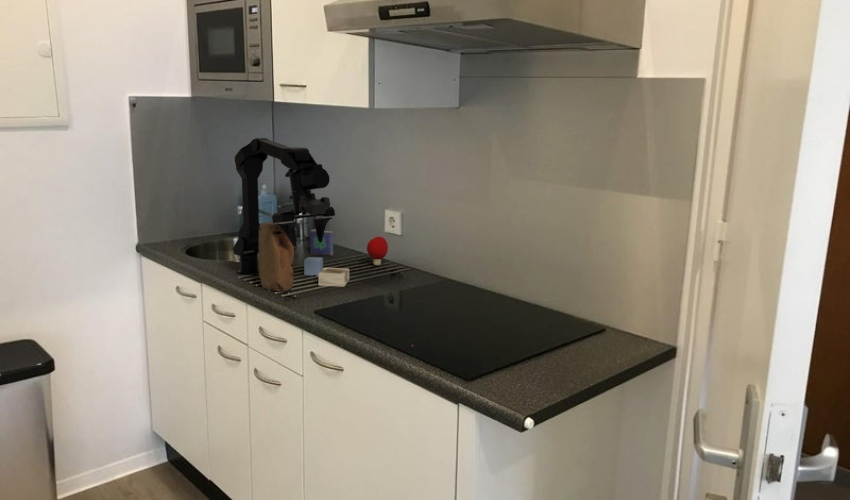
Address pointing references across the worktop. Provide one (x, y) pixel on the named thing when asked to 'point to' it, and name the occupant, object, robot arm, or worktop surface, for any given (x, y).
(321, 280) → the beech base
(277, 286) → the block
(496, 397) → the worktop surface
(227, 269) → the worktop surface
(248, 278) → the worktop surface
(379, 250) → the red toy tree
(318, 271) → the slate cube
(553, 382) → the worktop surface
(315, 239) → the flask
